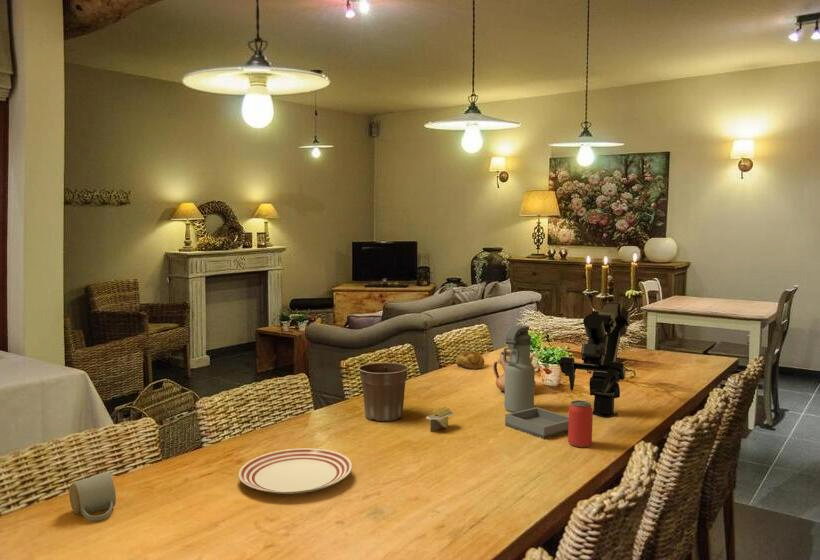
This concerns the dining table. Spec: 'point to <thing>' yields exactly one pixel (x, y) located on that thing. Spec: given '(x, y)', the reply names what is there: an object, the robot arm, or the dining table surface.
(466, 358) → the bread roll
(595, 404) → the robot arm
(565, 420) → the tray
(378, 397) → the plant pot
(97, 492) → the ceramic mug
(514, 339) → the water bottle
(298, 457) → the dinner plate
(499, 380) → the ceramic jug
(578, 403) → the beer can
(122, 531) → the dining table surface
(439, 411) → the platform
